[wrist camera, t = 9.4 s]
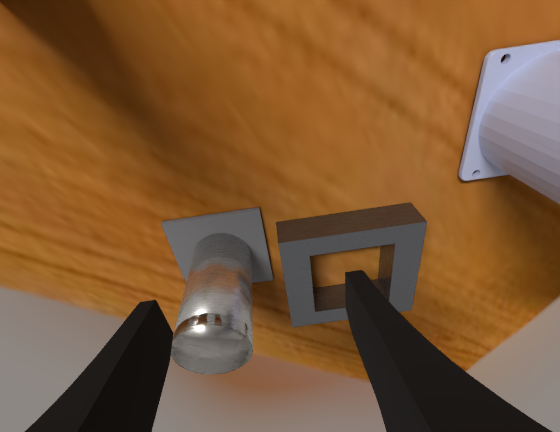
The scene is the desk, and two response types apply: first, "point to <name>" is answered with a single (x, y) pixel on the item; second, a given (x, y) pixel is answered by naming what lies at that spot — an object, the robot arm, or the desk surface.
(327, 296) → the housing
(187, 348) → the metal cylinder
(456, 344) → the desk surface
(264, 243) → the mat
